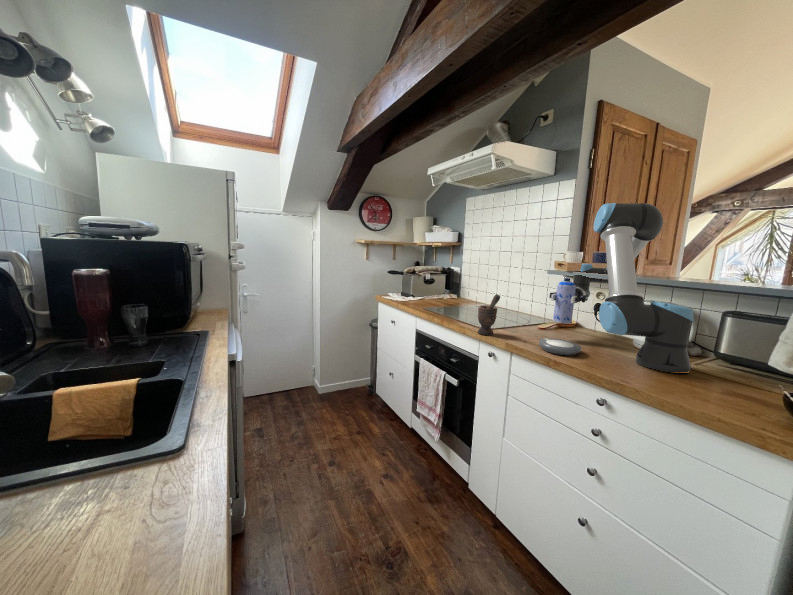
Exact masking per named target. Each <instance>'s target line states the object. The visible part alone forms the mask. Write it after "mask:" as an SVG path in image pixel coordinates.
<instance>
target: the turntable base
mask: <svg viewBox="0 0 793 595" xmlns="http://www.w3.org/2000/svg"><path fill="white" fill-rule="evenodd" d="M542 350H543V351H544V352H546V353H548V354H549V353H550V354H552V355H556V356H562V355H566V356H565V357H572V355H574V356H575V355H576V354H577V353H561V352H555V351H551V350H548V349H545V348H543V347H542Z"/></svg>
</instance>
